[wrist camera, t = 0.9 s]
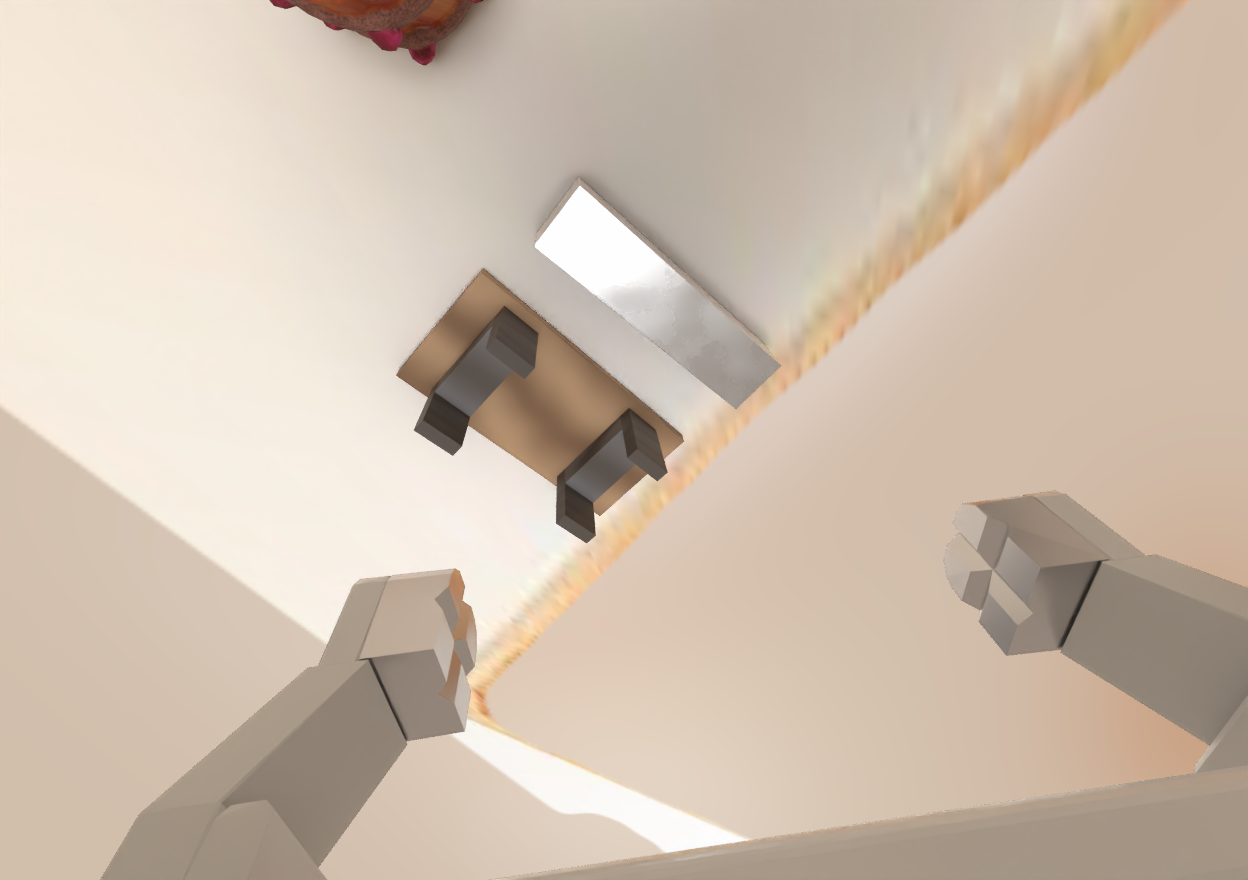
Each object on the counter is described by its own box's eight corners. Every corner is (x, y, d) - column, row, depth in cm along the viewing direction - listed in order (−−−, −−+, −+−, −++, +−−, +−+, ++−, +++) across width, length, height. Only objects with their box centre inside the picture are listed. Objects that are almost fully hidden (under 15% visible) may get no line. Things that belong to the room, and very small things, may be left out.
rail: (537, 231, 38) (534, 246, 35) (578, 176, 37) (579, 185, 33) (721, 382, 46) (736, 409, 42) (762, 342, 44) (781, 365, 40)
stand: (483, 268, 39) (468, 300, 33) (681, 435, 47) (698, 484, 41) (399, 369, 42) (372, 415, 36) (599, 508, 51) (604, 564, 45)
